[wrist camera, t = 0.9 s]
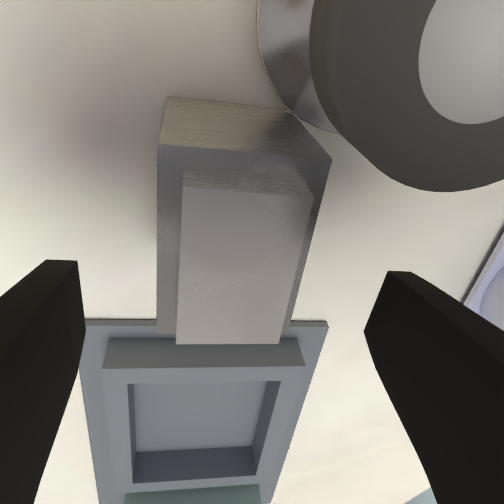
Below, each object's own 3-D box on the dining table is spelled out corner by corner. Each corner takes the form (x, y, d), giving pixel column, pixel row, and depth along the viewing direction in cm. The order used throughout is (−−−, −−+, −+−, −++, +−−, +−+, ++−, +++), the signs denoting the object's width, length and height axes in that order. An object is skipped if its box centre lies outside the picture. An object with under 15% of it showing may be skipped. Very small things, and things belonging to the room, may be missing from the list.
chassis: (326, 321, 20) (349, 375, 17) (269, 497, 29) (277, 550, 26) (74, 319, 17) (52, 381, 15) (102, 510, 27) (92, 570, 24)
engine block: (289, 109, 14) (345, 175, 9) (263, 251, 17) (293, 357, 12) (167, 95, 13) (154, 158, 8) (164, 246, 16) (153, 359, 11)
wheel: (635, -120, 8) (760, -153, 6) (492, 169, 11) (548, 201, 9) (351, -199, 6) (407, -268, 5) (285, 149, 10) (305, 181, 8)
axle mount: (512, -102, 11) (575, -120, 9) (422, 139, 15) (454, 159, 13) (277, -160, 10) (297, -195, 8) (242, 120, 14) (251, 139, 12)
